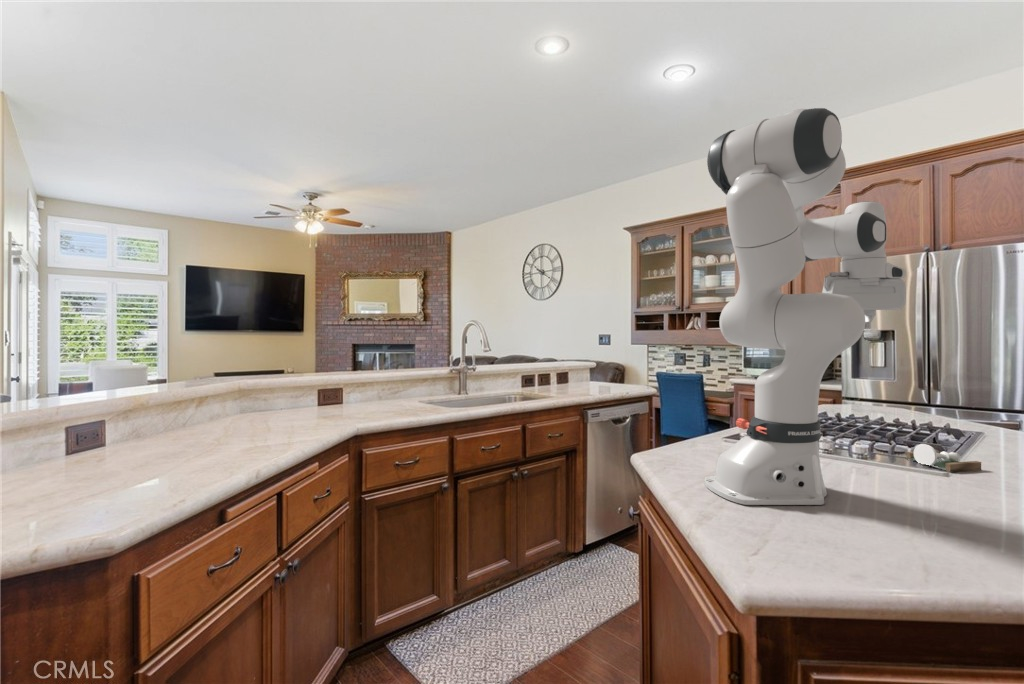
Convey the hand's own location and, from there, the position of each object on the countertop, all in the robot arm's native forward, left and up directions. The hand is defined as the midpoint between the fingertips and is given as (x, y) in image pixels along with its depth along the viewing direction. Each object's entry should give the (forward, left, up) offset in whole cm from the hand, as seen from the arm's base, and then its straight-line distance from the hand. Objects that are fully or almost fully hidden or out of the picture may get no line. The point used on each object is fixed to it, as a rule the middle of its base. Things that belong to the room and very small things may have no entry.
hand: (862, 329), depth 117 cm
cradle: (+12, -9, -31) cm, 35 cm away
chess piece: (+7, -9, -29) cm, 31 cm away
